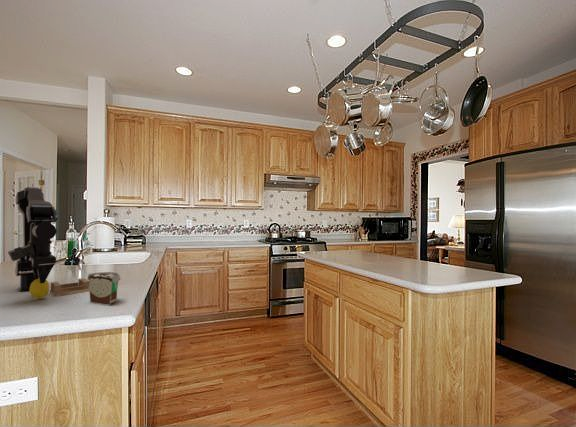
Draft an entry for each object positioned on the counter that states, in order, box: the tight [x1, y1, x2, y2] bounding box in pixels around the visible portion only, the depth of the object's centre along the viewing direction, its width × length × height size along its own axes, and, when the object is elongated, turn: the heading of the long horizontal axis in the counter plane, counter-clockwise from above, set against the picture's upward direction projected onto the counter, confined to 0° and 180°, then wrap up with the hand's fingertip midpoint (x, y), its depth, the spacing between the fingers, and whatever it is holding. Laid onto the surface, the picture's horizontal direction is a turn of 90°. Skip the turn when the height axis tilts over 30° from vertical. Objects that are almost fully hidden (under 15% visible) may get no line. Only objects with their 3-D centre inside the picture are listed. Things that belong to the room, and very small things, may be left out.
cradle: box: [48, 277, 89, 297], centre depth 119 cm, size 9×12×4 cm
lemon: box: [29, 278, 50, 300], centre depth 108 cm, size 6×6×8 cm
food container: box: [86, 271, 121, 306], centre depth 107 cm, size 12×6×10 cm, turn 71°
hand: (39, 281), depth 108 cm, fingers open, 9 cm apart
